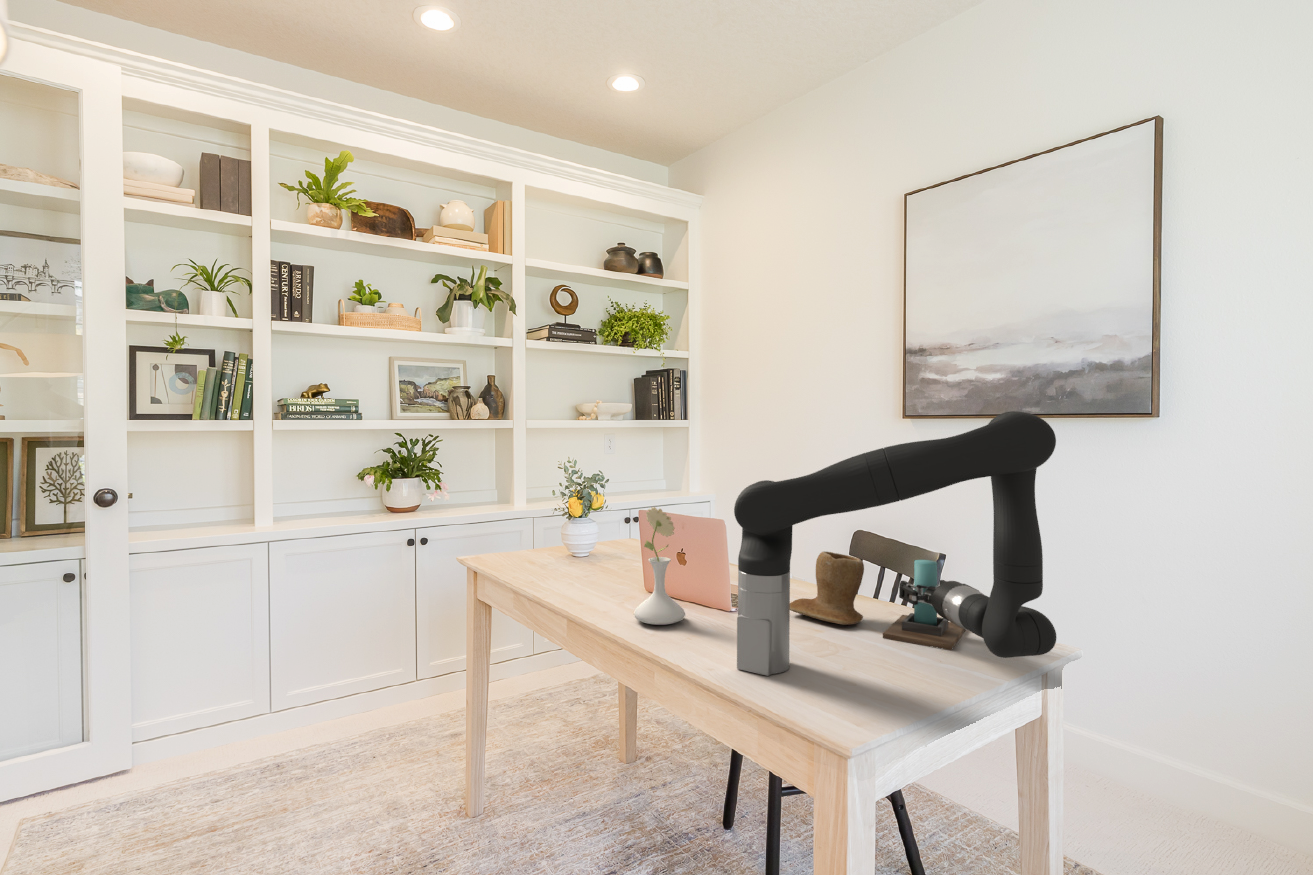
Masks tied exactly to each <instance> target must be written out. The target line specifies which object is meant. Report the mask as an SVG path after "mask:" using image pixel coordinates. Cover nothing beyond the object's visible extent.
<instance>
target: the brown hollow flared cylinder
mask: <svg viewBox="0 0 1313 875" xmlns="http://www.w3.org/2000/svg"><path fill="white" fill-rule="evenodd" d="M864 572H865V564H864V562H863V561H862V560H861V559H860V558H858V557H855V556H852V555H847V554H843V553H842V554H841V553H839V552H838V553H837V552H836V553H835V552H831V551H821V552H820V553H819V555H818V556H817V558H816V562H815V580H816V587H817V588H816V589H817V593H816V594H817V596H816V597H814V598H803V597H802V598H798V599H795V600H793V601H791V602H790V612H793V613H797V614H800V615H803V616H806V617H809V618H813V619H816V620H819V621H823V622H827V623H833V624H837V625H855V624H858V623H860V622H862V620H863V619H864V618H863V617H864V616H863V614H861V613H860V612H858V611H857V610H856V609H855V605H854V604H855V600H856V596H857V594H858V592H859V590H860V587H861V585H862V580H863V576H864Z"/></svg>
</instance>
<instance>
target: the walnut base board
mask: <svg viewBox="0 0 1313 875" xmlns="http://www.w3.org/2000/svg"><path fill="white" fill-rule="evenodd" d="M965 631H967V630H966V629H963V628H961V627H959V626H957V625H955V624H953V623H952V622H950V621H948V620H946V619H944V618H943V617H941V616H937V626H933V625H927V624H921V623H914V612H910V613H909V614H901V615H900V616H899V617H898V618H897V619H896V620H895V621H894V622H893V623H892V624H891V625H890V626H889V627H888V628H886V629H885V630H884V631H883V632H882V639H886V640H891V641H896V642H897V641H898V642H903V643H909V644H914V645H920V646H925V647H930V646H933V647H932V648H936V647H938V648H937V649H941V648H943V650H948V651H952V650H953V649H954V647H955V646H956V644H957V643H958V641H959V640H960V638H961V637H962V636H963V635H964V632H965ZM952 648H953V649H952Z"/></svg>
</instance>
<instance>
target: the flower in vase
mask: <svg viewBox="0 0 1313 875" xmlns="http://www.w3.org/2000/svg"><path fill="white" fill-rule="evenodd" d="M647 511H649V512H647ZM645 513H646V515H645V517H646V521H647V522H649V525H650V526H651V527H652V529H653V534H652V537H651V542H650V541H649V540H646V541H645V543H644V545H643V546H644V548H647V549H648V550H650V551H654V553H655V557H654V556H652V557H650V558H648V562H649V563H650V565H651V567H652V570H653V576H654V579H653V580H654V588H653V591H652V593H651V595H650V596H648V597H647V598H646V599H645V600H643V601H642V602H641V603H639V605H638V606H637V607H636V608H635V609H634V612H633V615H634V618H635V619H636V620H637V621H638V622H641V623H644V624H648V625H657V626H660V625H661V626H662V625H663V626H664V625H672V624H676V623H678V622H680V621H683V619H684V618H685V616H686V611H685V609H684V608H683V607H682V606H681V605H680V604H679V603H678V602H676V600H674V599H673V598H672V597H671V596H670V595H669V594H668V593H667V591H666V585H665V584H666V583H665V581H666V580H665V579H666V573H667V568H668V565H669V563H670V562H671V560H672V559H671V558H670V557H669V558H668V557H666V556H665V557H664V556H658V555H659V554H658V553H659V552H661V551H663V550H665V549H666V548H668V547H669V544H666V546H665V547H662V548H660V549H658V550H657V551H656V547H655V545H654V539H655V534H656V533H658V534H660V535H662V536H665V537H666V538H668V537H671V536H672V535H674V534H675V533H674V530H675V526H674V522H673V521H672V517H671V516H670V515H668V514H667V513H666V512H663V509H662V508H658V509H657V507H656V506H653V507H651V508H648V509H647V510H646V511H645Z"/></svg>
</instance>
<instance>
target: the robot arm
mask: <svg viewBox="0 0 1313 875" xmlns="http://www.w3.org/2000/svg"><path fill="white" fill-rule="evenodd" d="M1056 445H1057V438H1056V434H1055V431H1054V429H1053V428H1052V426H1051V425H1050V424H1049V423H1048V422H1047V421H1046V420H1045V419H1043V418H1041V417H1040V416H1038V415H1035V414H1033V413H1030V412H1023V411H1015V410H1010V411H1005V412H1002V413H1000V414H998V415H996V416H995V417H994V418H992V419H991V420H990V421H989V422H988V423H987V424H985V425H983V426H981V427H978V428H975V429H972V430H969V431H966V432H964V433H961V434H957V435H953V436H949V437H944V438H937V439H928V440H918V441H912V442H911V441H910V442H905V443H899V444H893V445H890V446H885V447H884V446H883V447H882V448H877V449H875V450H870V451H866V452H863V453H861V454H857V455H854V456H851V457H849V458H845V459H843V460H841V461H838V462H836V463H833V464H831V465H829V466H826V467H824V468H822V469H820V470H817V471H815V472H813V473H809V474H807V475H803V476H799V477H795V478H789V479H783V480H778V481H774V480H760V481H756V482H754V483H751V484H750V485H748V486H746V487H745V488H744V489H743V490H742V491H741V492H740V493H739V495H737V498H736V500H735V503H734V508H733V509H734V511H733V514H734V517H735V520H736V522H737V524H738V525H739V526H740V527H741V528H742V529H741V531H742V532H741V544H740V549H739V553H738V557H737V560H738V562H737V566H738V567H737V569H738V570H737V574H738V575H737V579H738V580H737V581H738V582H737V584H738V585H737V617H736V669H737V670H741V671H745V672H750V673H755V674H758V675H762V676H766V677H770V676H771V675H775V674H780V673H784V672H786V671H787V670H789V668H790V635H791V634H790V631H791V630H790V629H791V628H790V627H791V626H790V624H791V622H790V621H791V620H790V616H791V613H790V612H791V610H790V603H791V602H790V600H791V599H790V598H791V593H790V592H791V559H792V553H793V550H792V549H793V526H794V525H797V524H799V523H803V522H806V521H809V520H813V519H815V518H819V517H824V516H830V515H837V514H844V513H851V512H856V511H862V510H867V509H870V508H876V507H881V506H884V505H889V504H893V503H897V502H900V501H905V500H908V499H911V498H915V497H919V496H921V495H926V494H929V493H932V492H935V491H938V490H941V489H943V488H947V487H951V486H953V485H955V484H958V483H959V484H960V483H962V482H966V481H970V480H975V479H982V478H988V477H989V478H990V481H991V482H990V483H991V492H992V503H993V504H992V505H993V530H992V531H993V538H992V542H993V543H992V544H993V545H992V547H993V548H992V558H993V559H992V561H993V562H992V565H993V566H992V567H993V574H992V575H993V584H992V588H991V592H990V594H989V596H987V595H985V594H984V593H983V592H981V591H980V590H979V589H977V588H975V587H973V586H970V585H968V584H966V583H961V582H959V581H956V580H944V579H939V582H938V584H939V585H938V584H937V585H933V586H930V585H925V584H919V585H914V584H912V583H910V582H908V581H906V580H900V582H899V585H898V590H899V595H898V598H900V599H902V600H904V601H906V602H907V603H909V604H911V605H913V606H914V605H917V604H918V602H922V603H927V604H930V605H931V606H933V607H934V609H935V611H936V612H937V615H939V617H940V618H944V619H946V620H948V622H952V623H953V624H955V625H957V626H959V627H961V628H963V629H966V630H965V631H969V632H970V633H972V634H974V635H976V636H977V637H980V638H982V639H983V642H984V645H985V646H986V647H987V649H988V651H990V652H991V654H993V655H994V656H996V657H999V658H1003V659H1004V658H1005V659H1008V658H1019V657H1020V658H1023V657H1032V656H1033V657H1035V656H1042V655H1045V654H1048V653H1050V652H1051V651H1052V650H1053V649H1054V647H1055V646H1056V643H1057V632H1056V631H1057V630H1056V629H1055V626H1054V624H1053V622H1052V621H1051V620H1050V619H1049V618H1048V617H1047V616H1046V615H1045V614H1043V613H1042V612H1040V611H1039V610H1037V609H1034V608H1030V607H1028V606H1023V605H1025V604H1027V603H1028V602H1031V601H1034V600H1037V599H1038V598H1040V597H1041V596H1042V594H1043V589H1044V588H1043V587H1044V586H1043V585H1044V583H1043V581H1044V580H1043V579H1044V578H1043V577H1044V575H1043V574H1044V573H1043V572H1044V569H1043V568H1044V566H1043V565H1044V564H1043V560H1044V558H1043V556H1044V555H1043V545H1042V537H1041V531H1040V530H1041V529H1040V525H1039V519H1038V513H1037V512H1038V511H1037V506H1036V475H1037V468H1039V467H1041V466H1042V465H1043V464H1045V463H1046V462H1048V460H1049V459H1050V458H1051V456H1052V455H1053V453H1054V451H1055V449H1056ZM923 588H925V589H926V590H925V592H924V593H923ZM914 589H916V590H914Z"/></svg>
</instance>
